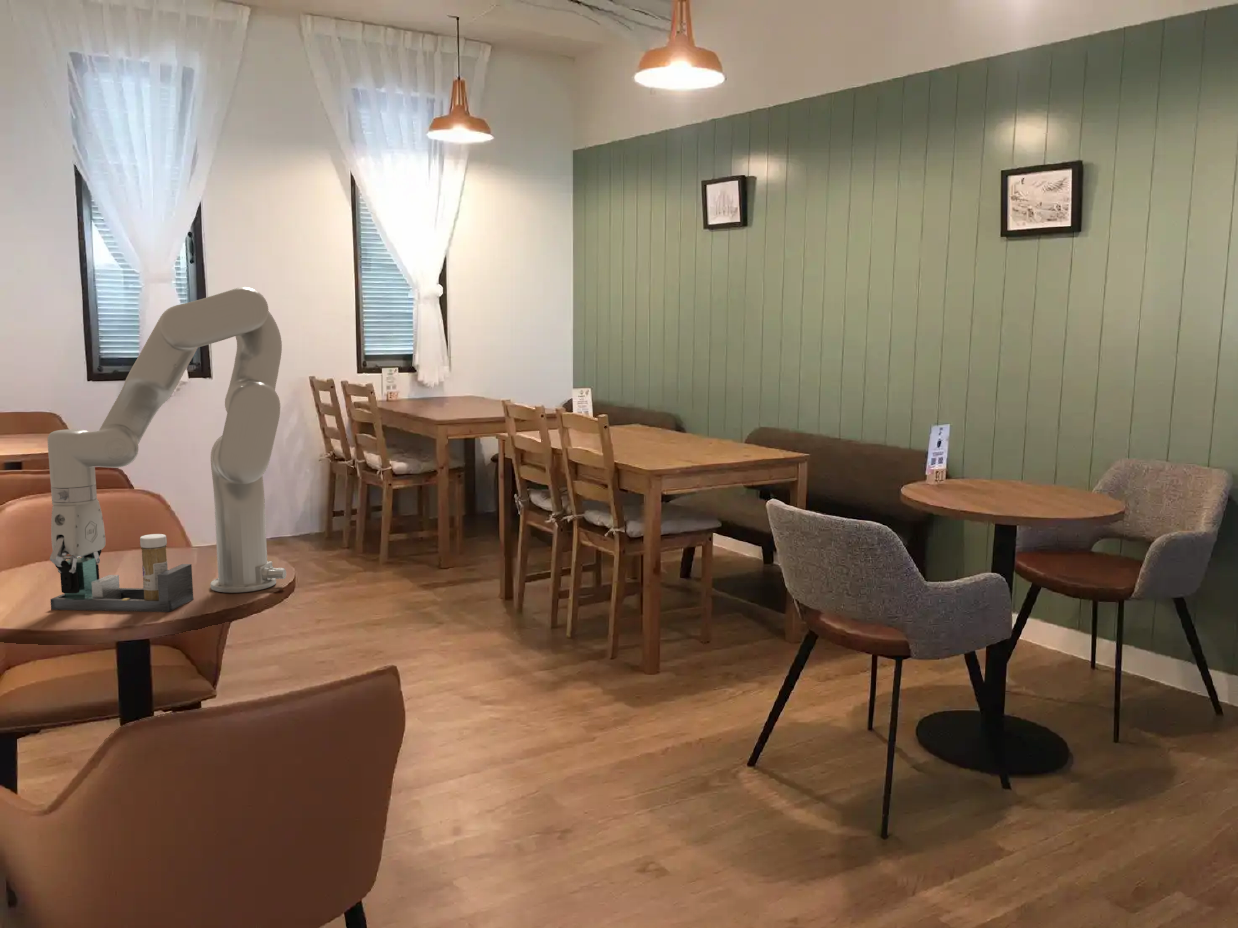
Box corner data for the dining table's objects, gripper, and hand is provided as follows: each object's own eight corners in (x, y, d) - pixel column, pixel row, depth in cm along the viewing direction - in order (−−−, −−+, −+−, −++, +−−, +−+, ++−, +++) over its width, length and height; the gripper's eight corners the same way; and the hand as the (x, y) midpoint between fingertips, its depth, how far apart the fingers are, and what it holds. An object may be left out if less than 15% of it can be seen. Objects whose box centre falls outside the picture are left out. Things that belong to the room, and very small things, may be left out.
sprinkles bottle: (139, 605, 191) (135, 535, 189) (163, 600, 194) (159, 532, 193) (150, 609, 188) (146, 538, 186) (174, 604, 191) (170, 535, 190)
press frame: (193, 599, 195) (191, 564, 194) (169, 611, 186) (166, 574, 185) (80, 597, 197) (78, 562, 196) (51, 609, 188) (48, 572, 187)
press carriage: (120, 597, 195) (118, 557, 194) (102, 605, 189) (99, 564, 188) (81, 596, 195) (78, 556, 194) (62, 604, 190) (59, 563, 188)
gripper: (64, 502, 181) (71, 600, 183) (119, 488, 198) (125, 578, 200) (25, 502, 182) (32, 600, 184) (83, 488, 199) (89, 577, 201)
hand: (80, 587), depth 192 cm, fingers open, 5 cm apart
